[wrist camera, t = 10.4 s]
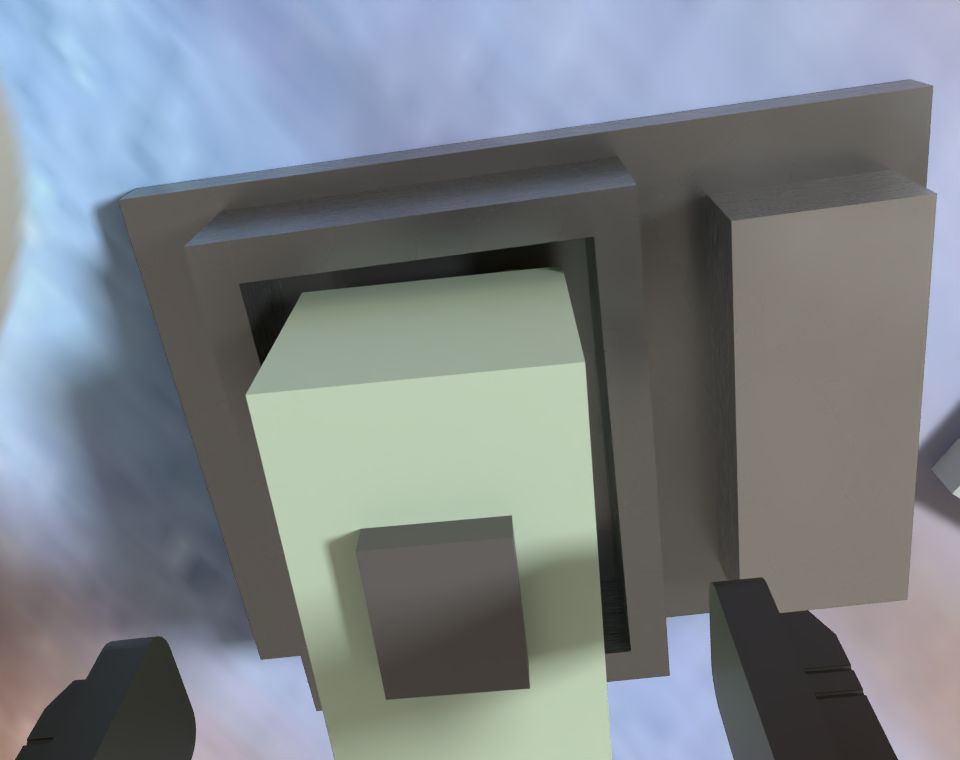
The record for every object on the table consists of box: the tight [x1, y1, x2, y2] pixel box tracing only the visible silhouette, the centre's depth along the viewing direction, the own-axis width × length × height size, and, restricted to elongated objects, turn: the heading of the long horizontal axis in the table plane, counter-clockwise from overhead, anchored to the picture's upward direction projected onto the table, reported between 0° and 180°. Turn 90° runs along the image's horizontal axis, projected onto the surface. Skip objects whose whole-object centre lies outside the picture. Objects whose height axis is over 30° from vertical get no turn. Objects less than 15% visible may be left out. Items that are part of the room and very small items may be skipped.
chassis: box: [118, 79, 937, 711], centre depth 20 cm, size 12×16×4 cm
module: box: [246, 266, 612, 760], centre depth 17 cm, size 8×5×5 cm, turn 6°
